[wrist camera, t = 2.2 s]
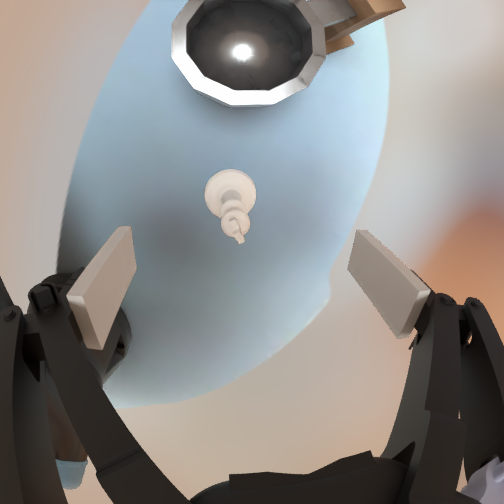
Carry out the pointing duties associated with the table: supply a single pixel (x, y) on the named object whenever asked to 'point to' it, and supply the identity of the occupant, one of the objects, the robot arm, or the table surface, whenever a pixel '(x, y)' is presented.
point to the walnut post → (358, 21)
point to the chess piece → (231, 201)
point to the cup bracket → (253, 47)
